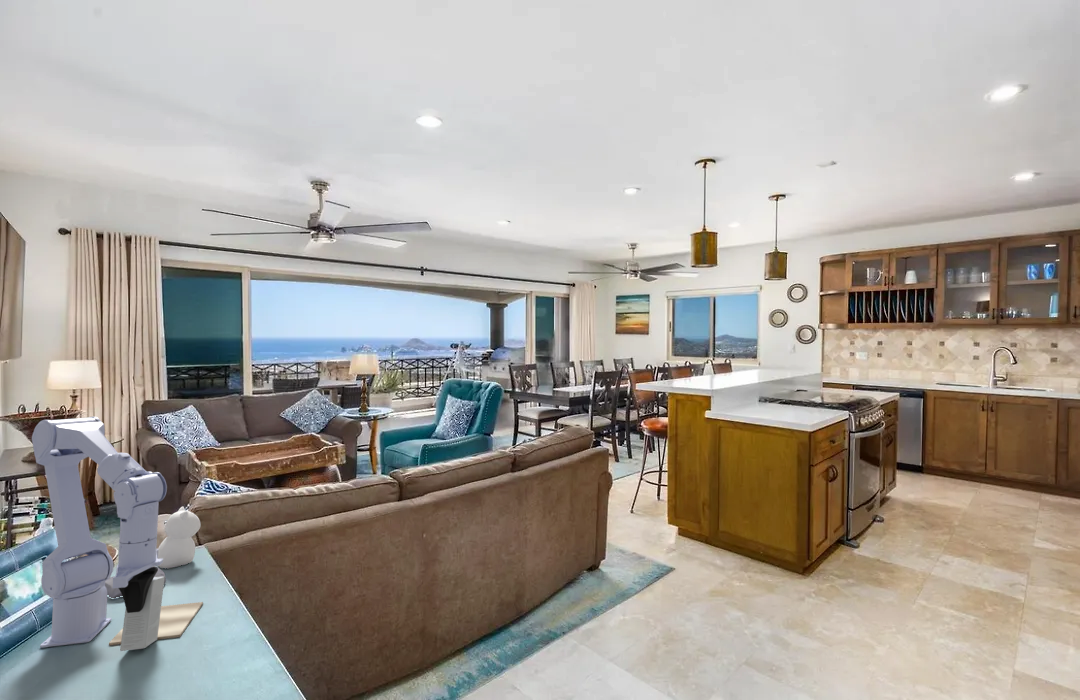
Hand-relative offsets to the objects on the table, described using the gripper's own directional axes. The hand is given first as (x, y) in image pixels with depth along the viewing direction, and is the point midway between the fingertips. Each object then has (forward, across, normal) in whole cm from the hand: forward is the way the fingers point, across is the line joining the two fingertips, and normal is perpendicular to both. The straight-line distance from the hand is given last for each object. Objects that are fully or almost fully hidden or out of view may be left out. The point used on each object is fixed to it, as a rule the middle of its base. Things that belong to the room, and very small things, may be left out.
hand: (135, 610), depth 99 cm
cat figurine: (+9, +48, +9) cm, 50 cm away
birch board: (+8, +13, 0) cm, 15 cm away
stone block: (+9, +34, +12) cm, 37 cm away
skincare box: (+8, +2, 0) cm, 8 cm away
